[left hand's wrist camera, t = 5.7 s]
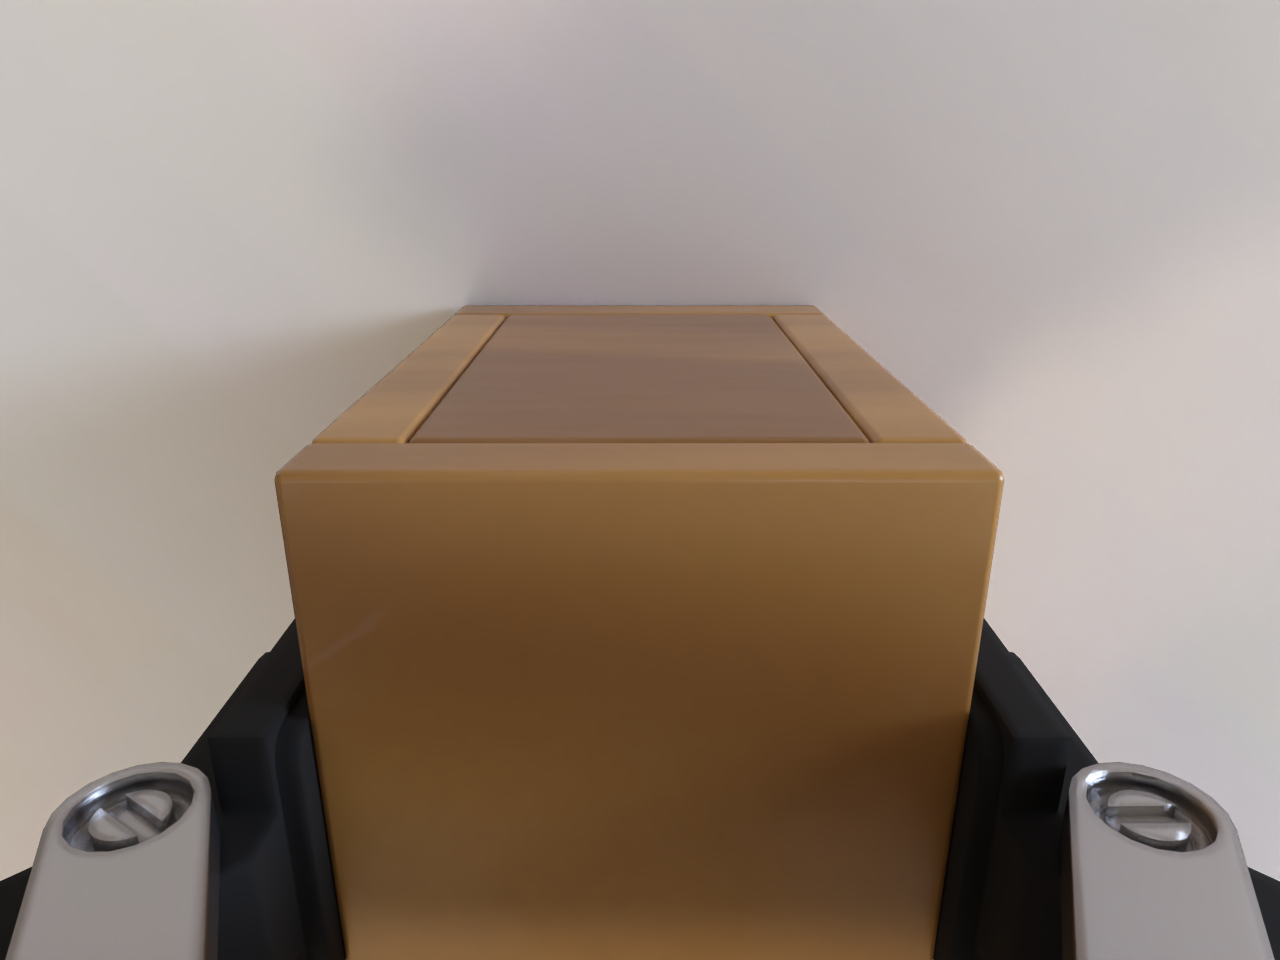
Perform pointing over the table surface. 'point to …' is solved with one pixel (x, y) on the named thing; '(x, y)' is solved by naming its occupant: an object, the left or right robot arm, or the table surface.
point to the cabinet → (639, 640)
